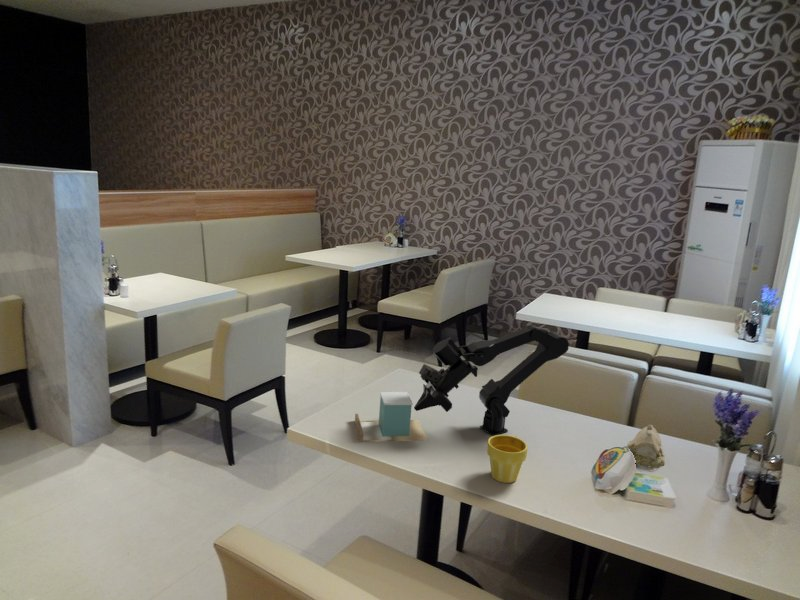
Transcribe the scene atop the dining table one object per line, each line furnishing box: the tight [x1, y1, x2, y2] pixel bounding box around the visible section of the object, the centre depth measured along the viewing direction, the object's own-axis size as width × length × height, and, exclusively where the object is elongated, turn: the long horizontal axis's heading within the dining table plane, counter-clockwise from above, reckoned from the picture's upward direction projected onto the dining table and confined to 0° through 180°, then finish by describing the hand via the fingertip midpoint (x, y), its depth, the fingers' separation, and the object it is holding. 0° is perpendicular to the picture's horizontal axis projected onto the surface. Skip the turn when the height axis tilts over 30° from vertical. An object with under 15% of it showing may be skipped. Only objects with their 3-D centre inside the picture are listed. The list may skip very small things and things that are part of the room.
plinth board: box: [354, 413, 428, 443], centre depth 174 cm, size 20×14×3 cm
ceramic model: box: [626, 424, 666, 468], centre depth 169 cm, size 14×11×10 cm
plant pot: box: [486, 434, 528, 484], centre depth 152 cm, size 10×10×10 cm
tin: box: [378, 391, 414, 436], centre depth 173 cm, size 8×8×11 cm
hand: (415, 409), depth 174 cm, fingers closed
